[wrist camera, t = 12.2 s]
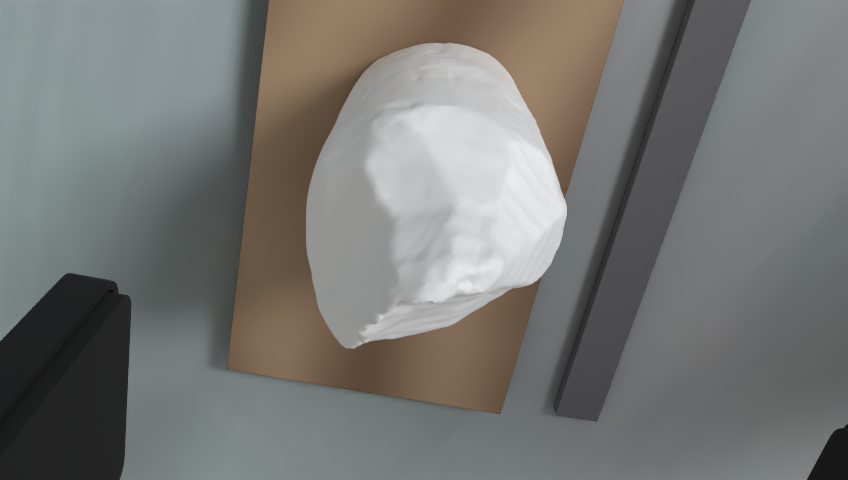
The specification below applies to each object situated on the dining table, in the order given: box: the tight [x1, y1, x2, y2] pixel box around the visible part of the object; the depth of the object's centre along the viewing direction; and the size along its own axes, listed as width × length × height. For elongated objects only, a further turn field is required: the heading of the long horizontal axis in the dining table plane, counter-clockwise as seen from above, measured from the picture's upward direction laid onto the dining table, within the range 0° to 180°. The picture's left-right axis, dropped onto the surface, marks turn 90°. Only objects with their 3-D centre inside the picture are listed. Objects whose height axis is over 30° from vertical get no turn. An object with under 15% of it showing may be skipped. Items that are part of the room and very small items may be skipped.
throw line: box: [554, 0, 751, 422], centre depth 25 cm, size 2×20×1 cm, turn 168°
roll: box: [306, 43, 567, 349], centre depth 18 cm, size 6×12×6 cm
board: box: [227, 0, 624, 414], centre depth 24 cm, size 10×20×1 cm, turn 169°
